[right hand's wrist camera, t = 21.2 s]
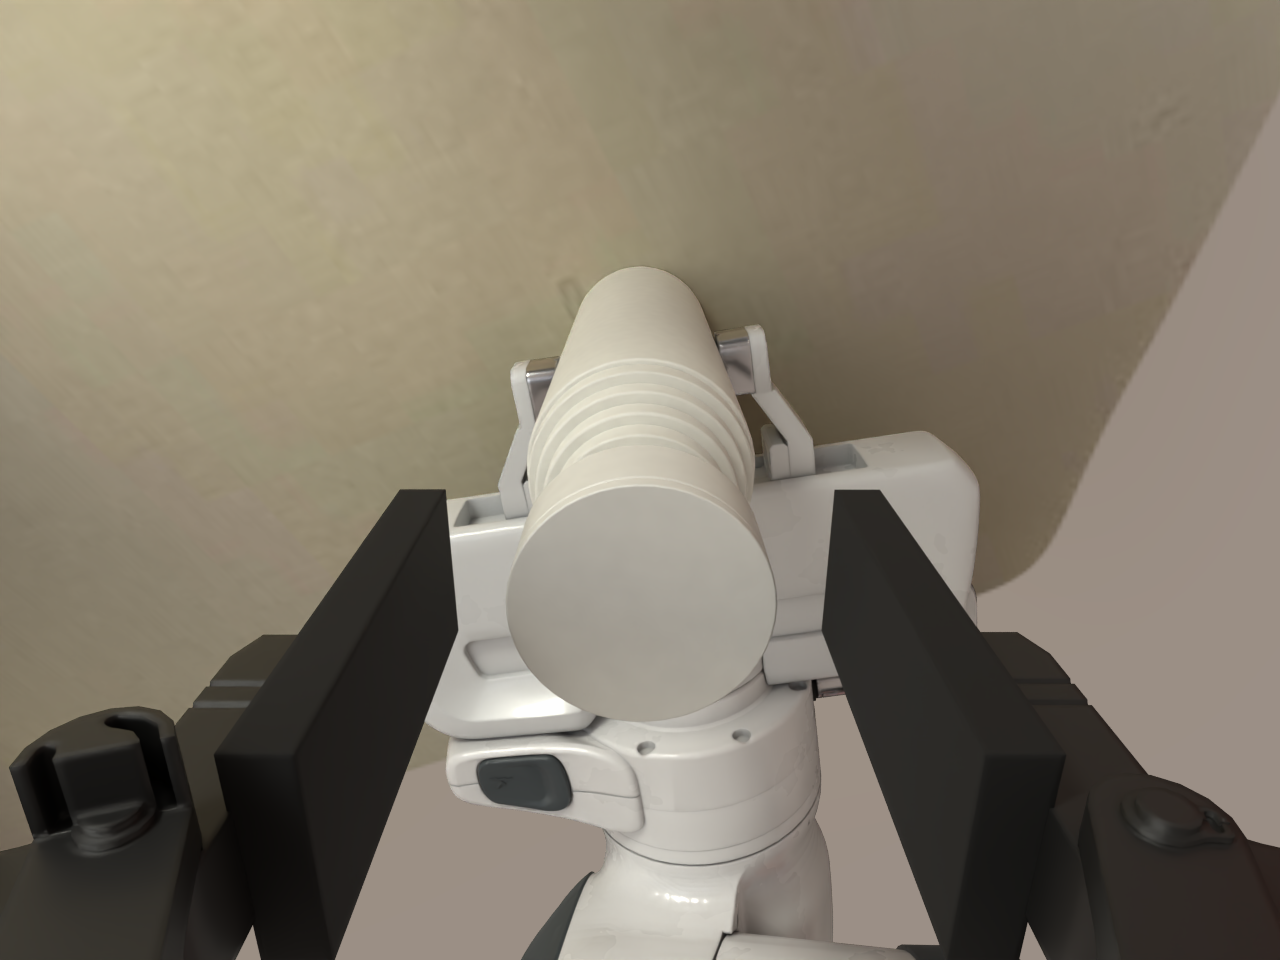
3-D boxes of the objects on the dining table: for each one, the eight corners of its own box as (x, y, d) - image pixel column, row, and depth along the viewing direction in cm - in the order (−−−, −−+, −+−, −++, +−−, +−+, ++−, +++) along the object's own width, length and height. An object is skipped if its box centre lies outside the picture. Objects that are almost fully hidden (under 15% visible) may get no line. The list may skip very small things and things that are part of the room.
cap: (760, 654, 15) (775, 718, 14) (532, 662, 15) (519, 727, 14) (762, 437, 14) (779, 478, 12) (509, 448, 14) (491, 490, 12)
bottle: (637, 237, 31) (634, 373, 12) (733, 330, 32) (863, 583, 13) (547, 335, 32) (420, 594, 13) (643, 421, 33) (646, 767, 15)
